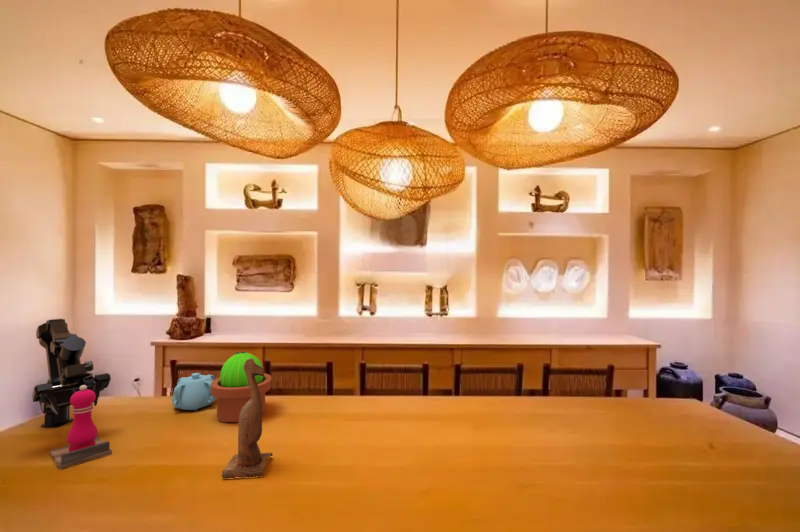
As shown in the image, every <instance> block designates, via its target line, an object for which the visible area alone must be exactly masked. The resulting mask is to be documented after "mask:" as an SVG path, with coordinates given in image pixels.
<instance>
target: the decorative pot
mask: <svg viewBox="0 0 800 532" xmlns="http://www.w3.org/2000/svg"><path fill="white" fill-rule="evenodd" d="M215 379H216V378H215V376H214V375H213V374H207V375H205V374H201V373H200V372H194V373H191V374H190V376H186V377H184V376H183V377H180V378H178V380H177V382H176V386H175V387H174V389H173V395H172V398H171V402H172V406H173V408H176V409H180V410H186V411H188V410H189V411H191V410H196V411H198V410H199V409H201V408H205V407H206V406H211V404H212V403H214V401H215V400H217V398H216V397H213V396H212V395H211V383H212V382H213V381H214V380H215ZM197 409H198V410H197Z"/></svg>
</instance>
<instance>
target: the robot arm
mask: <svg viewBox="0 0 800 532" xmlns="http://www.w3.org/2000/svg"><path fill="white" fill-rule="evenodd" d="M68 327H69V326H68V323H67V322H66V320H65V318H64V319H63V318H56V319H54V318H53V319H49V320H46V322H45V323H42V324H40V325H38V327H37V328H36V333H35V336H36V339H37V340H38V342H39V345H40V346H41V347H42V348H44V349H45V355H46V364H47V371H48V381H49V382H46V383H41V384H37V385H35V386H34V387H33V390H32V391H33V392H32V394H31V395H32V397H31V398H32V402H34V403H36V402H37V403H39V404H40V409H41V411H42V412H44V413H45V414H44V423H43V424H41V425H40V428H41V427H42V428H43V427H44V428H58V427H61V426H63V425H65V424H67V423H70V422H73V421H74V417H73V418H71V417H70V406H72V405H71V404H70V398H71V396H72V395H73V394H74V393H75V392H77V391H76V390H77V389H79V388H80V386H82V385H86V386H87V388H88V387H92V391H94V393H95V395H96V398H95V401H94V402H93V407H96V406H97V405H98V402H99V401H98V400H99V397H100V395H99V394H100V392H101V391H102V392H103V391H104V389H106V388H108V387H109V385H110V382H111V379H112V378H111V374H109V373H108V372H106V373H100V374H94V376H93V379H89V380H85V379H86V378H87V373H88V372H92V371H93V370H94V362H93V360H89V361H85V362H84V363H81V357H82V355H83V353H84V350H85V347H86V343H87V341H86V340H85V339H84V338H83V337H81V336H78V334H76V333H71V332H70V331H69V328H68Z"/></svg>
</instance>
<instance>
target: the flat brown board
mask: <svg viewBox="0 0 800 532" xmlns="http://www.w3.org/2000/svg"><path fill="white" fill-rule="evenodd" d="M94 441H95V445H93V446H89V447H86V448H82V449H79V450H75V451H72V452H69V447H70V446H71V445H70V444H68V445H65V446H61V447H58V448H54V449H51V450H49V455H50V454H51V455H50V457H51V456H52V457H53V459H54V460H53V459H52V460H53V462H54V461H55V462H56V464H57V465H56V464H55V465H56V466H58V467H59V468H58V467H57V468H58V470H59V469H62V470H64V469H63V468H65V469H67V468H66V467H68V468H70V467H69V466H71V467H73V466H72V465H75V466H77V465H76V464H78V465H80V464H79V463H81V464H83V462H84V463H87V462H90V461H89V460H91V461H93V460H92V459H94V460H96V459H95V458H97V459H100V458H102V456H103V457H106V456H110V455H112V454H113V450H112V448H110V441H109V440H107V441H104V440H103V439H102V438H101V437H100V436H97V437H96V438H95V439H94ZM109 454H110V455H109ZM105 455H106V456H105ZM52 457H51V458H52ZM99 457H100V458H99ZM86 461H87V462H86ZM55 462H54V463H55Z"/></svg>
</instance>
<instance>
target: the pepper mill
mask: <svg viewBox="0 0 800 532" xmlns="http://www.w3.org/2000/svg"><path fill="white" fill-rule="evenodd" d="M78 389H79V390H78V391H76V392H75V393H74V394H73V395H72V396H71V398H70V404H71V405H70V406H72V408H71V410H72V411H71V413H72V414H73V416H74V417H73V421H72V425H71V427H70V428H69V431H68V433H67V435H66V436H67V437H66V443H67V444H68V445H71V446H70V447H69V452H72V451H75V450H79V449H82V448H86V447H89V446H93V445H95V441H94V439H95V438H96V437H98V435H99V434H98V433H99V432H98V428H97V426H96V424H95V423H94V421H93V418H92V410H94V401H95V398H96V395H95V393H94V391H93V389H92V390H91V389H88V387H87V386H86V385H82V386H80V388H78Z"/></svg>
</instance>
